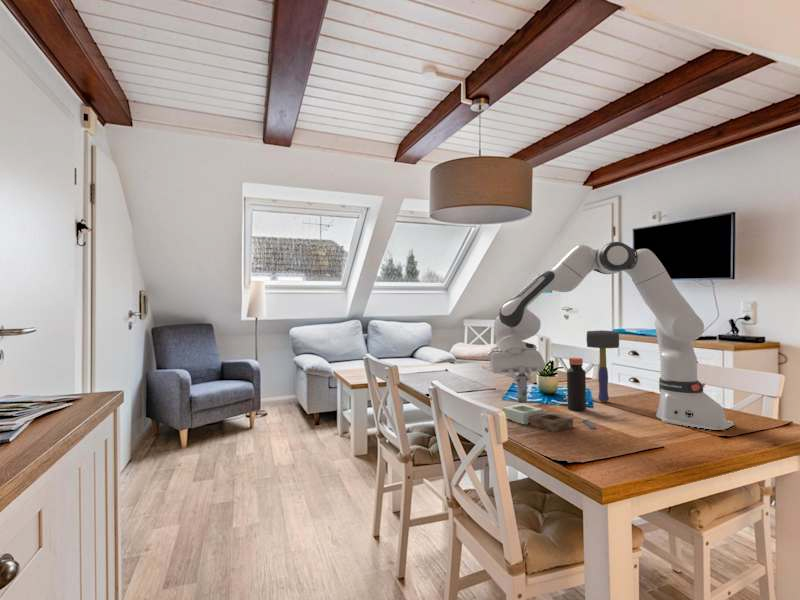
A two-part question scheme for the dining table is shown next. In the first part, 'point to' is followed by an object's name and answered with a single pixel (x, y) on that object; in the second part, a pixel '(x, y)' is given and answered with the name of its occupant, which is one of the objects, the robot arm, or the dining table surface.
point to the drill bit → (522, 385)
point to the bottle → (576, 385)
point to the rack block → (521, 412)
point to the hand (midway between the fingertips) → (522, 380)
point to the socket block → (551, 421)
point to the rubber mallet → (603, 356)
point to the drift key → (589, 424)
